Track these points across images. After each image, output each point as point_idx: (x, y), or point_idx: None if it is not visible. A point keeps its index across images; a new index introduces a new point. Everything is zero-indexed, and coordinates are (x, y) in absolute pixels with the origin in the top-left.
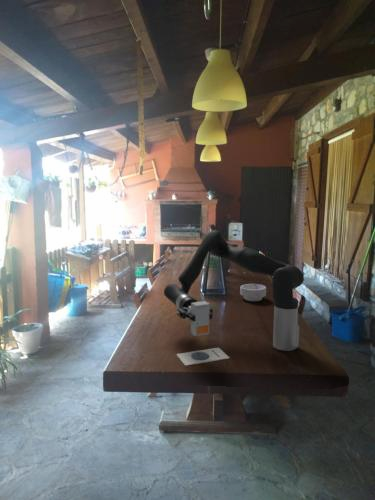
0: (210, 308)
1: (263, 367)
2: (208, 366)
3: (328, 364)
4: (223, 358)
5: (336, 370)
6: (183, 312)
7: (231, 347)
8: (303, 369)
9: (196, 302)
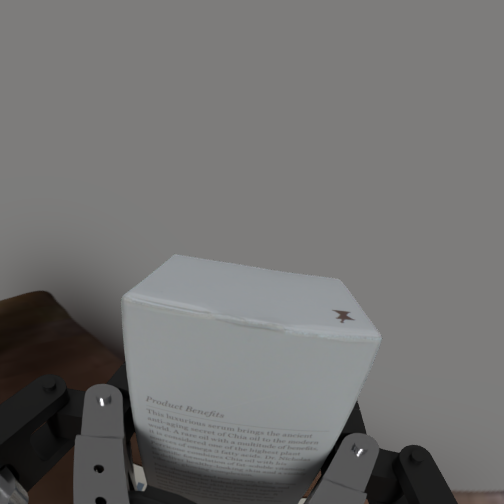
0: (35, 398)
1: (94, 369)
2: None
3: (13, 302)
4: (137, 466)
5: (32, 294)
6: (421, 451)
7: None
8: (53, 321)
9: (298, 315)
